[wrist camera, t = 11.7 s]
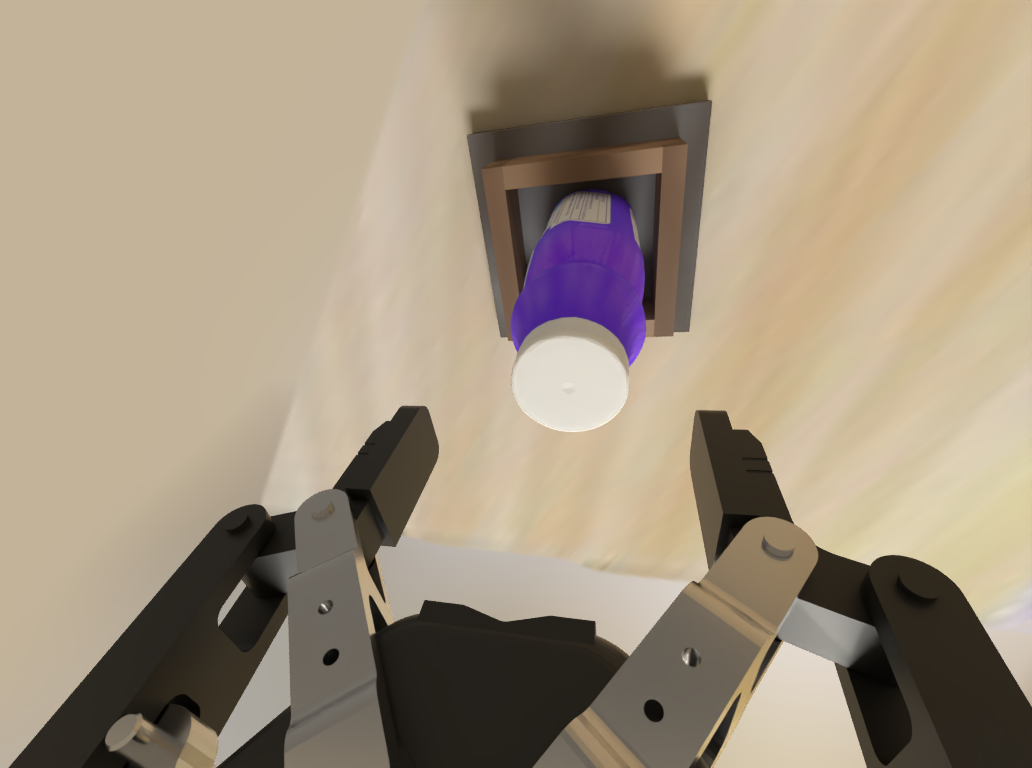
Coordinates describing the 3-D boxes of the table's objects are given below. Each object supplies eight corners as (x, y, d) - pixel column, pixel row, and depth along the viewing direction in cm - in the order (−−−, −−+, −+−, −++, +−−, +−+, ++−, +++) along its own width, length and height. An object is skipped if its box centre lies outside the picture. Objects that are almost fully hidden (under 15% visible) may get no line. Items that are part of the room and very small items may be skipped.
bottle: (553, 177, 27) (488, 278, 13) (646, 187, 26) (683, 305, 12) (541, 286, 31) (482, 453, 17) (621, 297, 31) (627, 479, 17)
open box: (708, 100, 24) (725, 103, 21) (686, 324, 32) (696, 356, 28) (472, 133, 28) (449, 141, 24) (503, 330, 35) (490, 360, 31)
